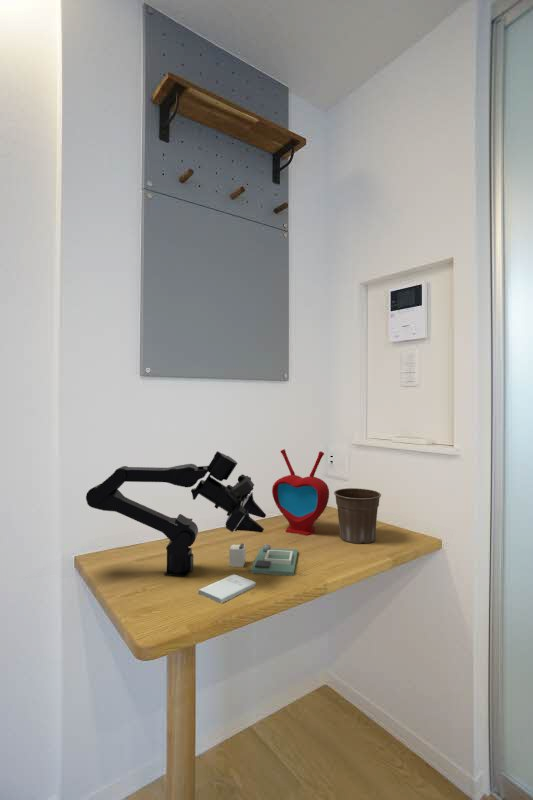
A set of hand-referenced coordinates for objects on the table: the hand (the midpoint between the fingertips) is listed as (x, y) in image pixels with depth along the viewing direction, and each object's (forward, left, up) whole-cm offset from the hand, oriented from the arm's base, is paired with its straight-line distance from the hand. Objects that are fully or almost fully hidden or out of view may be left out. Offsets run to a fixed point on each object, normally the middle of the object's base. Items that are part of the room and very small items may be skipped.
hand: (264, 523), depth 117 cm
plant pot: (+29, +33, -14) cm, 45 cm away
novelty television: (+9, +40, -14) cm, 43 cm away
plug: (-8, +4, -13) cm, 16 cm away
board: (+3, +7, -13) cm, 15 cm away
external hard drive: (-7, -13, -14) cm, 21 cm away
